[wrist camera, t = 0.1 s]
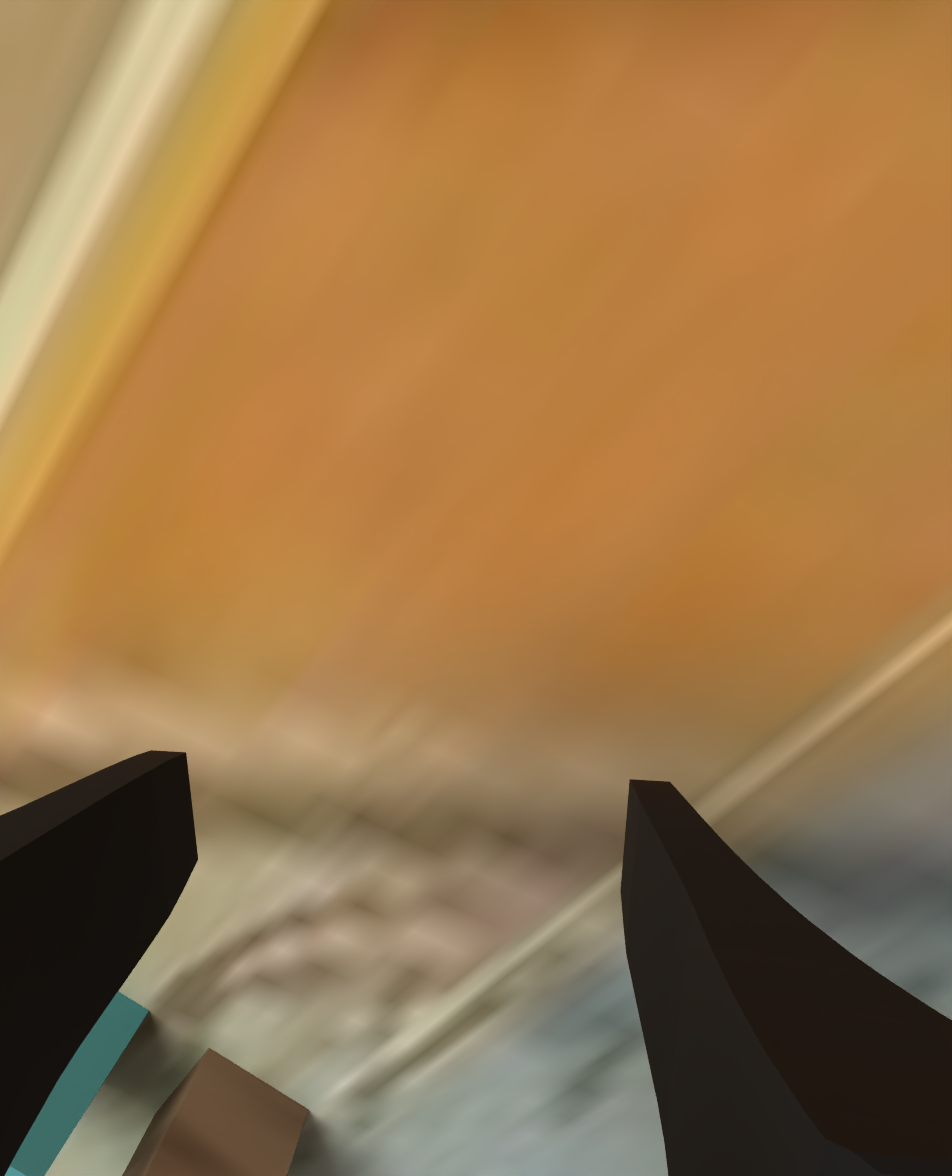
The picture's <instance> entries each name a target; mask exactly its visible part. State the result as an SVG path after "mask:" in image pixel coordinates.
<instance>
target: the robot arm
mask: <svg viewBox="0 0 952 1176" xmlns="http://www.w3.org/2000/svg"><path fill="white" fill-rule="evenodd" d="M197 861H198V854H197V845H196V836H195V828H194V819H193V810H192V801H191V792H190V783H189V774H188V765H187V757H186V753H185V752H168V751H152V750H151V751H148V752H145V753H142V754H139V755H136V756H133V757H131V758H128V759H126V760H123V761H121V762H119V763H116V764H114V765H112V766H109V767H107V768H105V769H103V770H100V771H98V772H96V773H94V774H92V775H89V776H87V777H85V778H83V779H81V780H79V781H76V782H74V783H72V784H70V785H68V786H65V787H63V788H61V789H59V790H57V791H55V792H52V793H50V794H48V795H46V796H44V797H41V798H39V799H37V800H35V801H33V802H31V803H28V804H26V805H24V806H22V807H20V808H17V809H15V810H12V811H10V812H8V813H5V814H3V815H1V816H0V1176H5V1174H6V1172H7V1170H8V1168H9V1167H10V1165H11V1163H12V1161H13V1159H14V1157H15V1155H16V1153H17V1152H18V1150H19V1148H20V1146H21V1145H22V1143H23V1141H24V1139H25V1138H26V1136H27V1134H28V1132H29V1130H30V1129H31V1127H32V1125H33V1123H34V1122H35V1120H36V1118H37V1116H38V1115H39V1113H40V1111H41V1109H42V1108H43V1106H44V1104H45V1102H46V1101H47V1099H48V1097H49V1095H50V1093H51V1092H52V1090H53V1088H54V1086H55V1085H56V1083H57V1081H58V1080H59V1078H60V1076H61V1075H62V1073H63V1072H64V1070H65V1069H66V1067H67V1065H68V1064H69V1062H70V1061H71V1059H72V1058H73V1056H74V1055H75V1053H76V1051H77V1050H78V1048H79V1047H80V1045H81V1044H82V1042H83V1041H84V1040H85V1038H86V1037H87V1035H88V1034H89V1032H90V1031H91V1029H92V1028H93V1027H94V1025H95V1024H96V1022H97V1021H98V1019H99V1018H100V1016H101V1015H102V1014H103V1012H104V1011H105V1009H106V1008H107V1006H108V1005H109V1004H110V1002H111V1001H112V999H113V998H114V996H115V995H116V993H117V992H118V991H119V989H120V988H121V986H122V985H123V983H124V982H125V980H126V979H127V978H128V976H129V975H130V973H131V972H132V970H133V969H134V968H135V966H136V965H137V963H138V962H139V960H140V959H141V957H142V956H143V954H144V953H145V951H146V950H147V949H148V947H149V946H150V944H151V943H152V941H153V940H154V938H155V937H156V935H157V934H158V932H159V931H160V929H161V928H162V926H163V925H164V923H165V922H166V920H167V919H168V917H169V916H170V914H171V912H172V910H173V908H174V906H175V904H176V903H177V901H178V899H179V897H180V895H181V893H182V891H183V889H184V887H185V885H186V883H187V881H188V879H189V877H190V875H191V873H192V871H193V869H194V867H195V865H196V863H197ZM621 900H622V912H623V924H624V934H625V944H626V954H627V959H628V964H629V969H630V974H631V978H632V983H633V988H634V993H635V998H636V1003H637V1007H638V1012H639V1017H640V1022H641V1026H642V1031H643V1036H644V1040H645V1045H646V1050H647V1055H648V1059H649V1064H650V1069H651V1074H652V1078H653V1083H654V1088H655V1093H656V1097H657V1102H658V1107H659V1113H660V1119H661V1125H662V1131H663V1136H664V1142H665V1150H666V1159H667V1167H668V1175H669V1176H952V1020H950V1019H949V1018H947V1017H945V1016H944V1015H942V1014H940V1013H939V1012H937V1011H936V1010H934V1009H932V1008H931V1007H929V1006H928V1005H926V1004H925V1003H923V1002H921V1001H920V1000H918V999H917V998H915V997H914V996H912V995H911V994H909V993H908V992H906V991H905V990H903V989H902V988H900V987H899V986H897V985H896V984H894V983H893V982H891V981H890V980H888V979H887V978H885V977H884V976H882V975H881V974H879V973H878V972H876V971H875V970H874V969H872V968H871V967H869V966H868V965H867V964H865V963H864V962H862V961H861V960H859V959H858V958H857V957H855V956H854V955H853V954H851V953H850V952H849V951H847V950H846V949H845V948H843V947H842V946H841V945H840V944H838V943H837V942H836V941H834V940H833V939H832V938H831V937H829V936H828V935H827V934H825V933H824V932H823V931H822V930H820V929H819V928H818V927H816V926H815V925H814V924H812V923H811V922H810V921H809V920H808V919H806V918H805V917H804V916H803V915H802V914H800V913H799V912H798V911H797V910H796V909H794V908H793V907H792V906H791V905H790V904H789V903H788V902H786V901H785V900H784V899H783V898H782V897H781V896H780V895H779V894H778V893H777V892H775V891H774V890H773V889H772V888H771V887H770V886H769V885H768V884H767V883H765V882H764V881H763V880H762V879H761V878H760V877H759V876H758V875H757V874H756V873H755V872H754V871H753V870H752V869H751V868H750V867H749V866H748V865H746V864H745V863H744V862H743V861H742V860H741V859H740V858H739V857H738V856H737V855H736V854H735V853H734V851H733V850H732V849H731V848H730V847H729V846H728V845H727V844H726V843H725V842H724V841H723V840H722V839H721V838H720V837H719V836H718V835H717V834H716V833H715V832H714V830H713V829H712V828H711V827H710V826H709V825H708V824H707V823H706V822H705V821H704V819H703V818H702V817H701V816H700V815H699V814H698V813H697V812H696V810H695V809H694V808H693V807H692V806H691V805H690V804H689V803H688V801H687V800H686V799H685V798H684V797H683V796H682V795H681V794H680V793H679V791H678V790H677V789H676V788H675V787H674V786H673V785H672V784H671V783H670V782H664V781H647V780H631V779H630V783H629V796H628V808H627V820H626V832H625V844H624V856H623V869H622V881H621Z"/></svg>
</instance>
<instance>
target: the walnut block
mask: <svg viewBox="0 0 952 1176" xmlns="http://www.w3.org/2000/svg"><path fill="white" fill-rule="evenodd" d="M307 1112H308V1109H307V1108H305V1107H304V1106H302V1105H300V1104H299V1103H297V1102H296V1101H294V1100H292V1099H291V1098H289V1097H288V1096H286V1095H284V1094H283V1093H281V1092H279V1091H278V1090H276V1089H275V1088H273V1087H271V1086H270V1085H268V1084H267V1083H265V1082H263V1081H262V1080H260V1079H259V1078H257V1077H255V1076H254V1075H252V1074H251V1073H249V1072H247V1071H246V1070H244V1069H242V1068H241V1067H239V1066H238V1065H236V1064H234V1063H233V1062H231V1061H230V1060H228V1059H226V1058H225V1057H223V1056H222V1055H220V1054H218V1053H217V1052H215V1051H214V1050H212V1049H210V1048H209V1049H208V1050H207V1051H206V1052H205V1054H204V1055H203V1056H202V1057H201V1059H200V1060H199V1061H198V1062H197V1063H196V1065H195V1066H194V1067H193V1068H192V1070H191V1071H190V1072H189V1073H188V1075H187V1076H186V1077H185V1078H184V1079H183V1081H182V1082H181V1083H180V1084H179V1086H178V1087H177V1088H176V1089H175V1090H174V1092H173V1093H172V1094H171V1095H170V1097H169V1098H168V1099H167V1100H166V1102H165V1103H164V1104H163V1105H162V1106H161V1108H160V1109H159V1110H158V1111H157V1113H156V1114H155V1115H154V1117H153V1119H152V1121H151V1123H150V1125H149V1127H148V1128H147V1130H146V1132H145V1134H144V1136H143V1138H142V1140H141V1142H140V1143H139V1145H138V1147H137V1149H136V1151H135V1153H134V1155H133V1157H132V1159H131V1160H130V1162H129V1164H128V1166H127V1168H126V1170H125V1172H124V1174H123V1175H122V1176H287V1174H288V1171H289V1168H290V1165H291V1162H292V1159H293V1156H294V1152H295V1149H296V1146H297V1143H298V1140H299V1137H300V1134H301V1131H302V1128H303V1125H304V1122H305V1119H306V1115H307Z"/></svg>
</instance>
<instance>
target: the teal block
mask: <svg viewBox="0 0 952 1176" xmlns="http://www.w3.org/2000/svg"><path fill="white" fill-rule="evenodd" d="M148 1011H149V1010H147V1009H146V1008H144V1007H142V1006H141V1005H139V1004H138V1003H136V1002H134V1001H133V1000H131V999H130V998H128V997H126V996H125V995H123V994H121V993H120V992H117V993H116V995H115V996H114V998H113V999H112V1001H111V1002H110V1004H109V1005H108V1006H107V1008H106V1009H105V1011H104V1012H103V1014H102V1015H101V1016H100V1018H99V1019H98V1021H97V1022H96V1024H95V1025H94V1027H93V1028H92V1029H91V1031H90V1032H89V1034H88V1035H87V1037H86V1038H85V1040H84V1041H83V1042H82V1044H81V1045H80V1047H79V1048H78V1050H77V1051H76V1053H75V1055H74V1056H73V1058H72V1059H71V1061H70V1062H69V1064H68V1065H67V1067H66V1069H65V1070H64V1072H63V1073H62V1075H61V1076H60V1078H59V1080H58V1081H57V1083H56V1085H55V1086H54V1088H53V1090H52V1092H51V1093H50V1095H49V1097H48V1099H47V1101H46V1102H45V1104H44V1106H43V1108H42V1109H41V1111H40V1113H39V1115H38V1116H37V1118H36V1120H35V1122H34V1123H33V1125H32V1127H31V1129H30V1130H29V1132H28V1134H27V1136H26V1138H25V1139H24V1141H23V1143H22V1145H21V1146H20V1148H19V1150H18V1152H17V1153H16V1155H15V1157H14V1159H13V1161H12V1163H11V1165H10V1167H9V1168H8V1170H7V1172H6V1174H5V1176H44V1175H45V1174H46V1172H47V1171H48V1169H49V1168H50V1166H51V1164H52V1163H53V1161H54V1160H55V1158H56V1157H57V1155H58V1153H59V1152H60V1150H61V1149H62V1147H63V1145H64V1144H65V1142H66V1141H67V1139H68V1138H69V1136H70V1134H71V1133H72V1131H73V1130H74V1128H75V1127H76V1125H77V1123H78V1122H79V1120H80V1119H81V1117H82V1116H83V1114H84V1112H85V1111H86V1109H87V1108H88V1106H89V1104H90V1103H91V1101H92V1100H93V1098H94V1097H95V1095H96V1093H97V1092H98V1090H99V1089H100V1087H101V1086H102V1084H103V1082H104V1081H105V1079H106V1078H107V1076H108V1075H109V1073H110V1071H111V1070H112V1068H113V1067H114V1065H115V1064H116V1062H117V1060H118V1059H119V1057H120V1056H121V1054H122V1052H123V1051H124V1049H125V1048H126V1046H127V1045H128V1043H129V1041H130V1040H131V1038H132V1037H133V1035H134V1034H135V1032H136V1030H137V1029H138V1027H139V1026H140V1024H141V1023H142V1021H143V1019H144V1018H145V1016H146V1015H147V1013H148Z"/></svg>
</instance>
